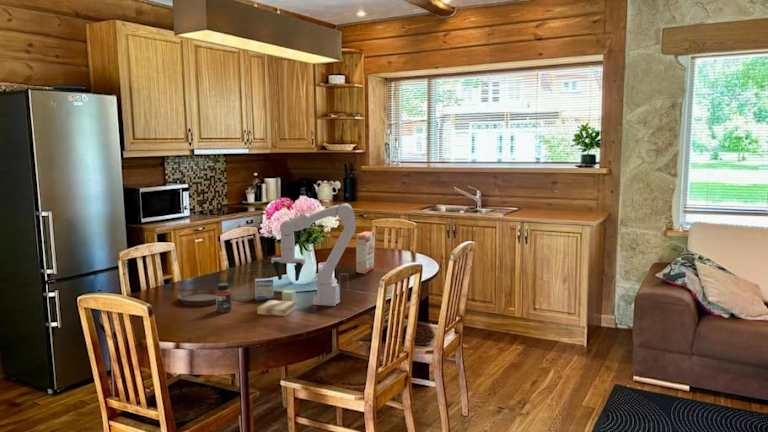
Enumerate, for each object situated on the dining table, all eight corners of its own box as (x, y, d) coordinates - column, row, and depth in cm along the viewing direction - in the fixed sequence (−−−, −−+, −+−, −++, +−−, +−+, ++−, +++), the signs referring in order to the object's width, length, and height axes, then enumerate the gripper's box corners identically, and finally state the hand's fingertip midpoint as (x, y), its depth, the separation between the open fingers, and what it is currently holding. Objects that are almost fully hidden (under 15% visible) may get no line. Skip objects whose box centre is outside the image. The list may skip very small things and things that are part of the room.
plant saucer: (237, 298, 258) (236, 291, 258) (200, 310, 241) (200, 302, 240) (204, 292, 269) (204, 285, 268) (167, 303, 251) (167, 295, 251)
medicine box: (255, 300, 255) (255, 280, 254) (255, 297, 259) (254, 278, 258) (273, 298, 257) (273, 279, 256) (273, 296, 261) (272, 277, 260)
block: (296, 302, 251) (295, 290, 251) (292, 305, 247) (291, 292, 246) (286, 302, 252) (285, 289, 251) (282, 304, 248) (281, 292, 247)
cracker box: (366, 274, 303) (366, 235, 301) (355, 274, 305) (355, 234, 302) (374, 269, 317) (374, 231, 314) (364, 268, 318) (364, 230, 316)
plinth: (296, 307, 244) (295, 301, 243) (285, 315, 232) (285, 309, 232) (269, 305, 246) (269, 299, 246) (257, 313, 235) (257, 307, 234)
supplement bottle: (225, 308, 243) (225, 281, 241) (234, 310, 239) (233, 283, 238) (213, 311, 238) (212, 284, 237) (222, 314, 234) (221, 286, 233)
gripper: (307, 247, 249) (307, 278, 251) (275, 246, 252) (276, 276, 254) (301, 250, 242) (302, 282, 244) (269, 249, 245) (269, 280, 247)
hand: (288, 279), depth 248 cm, fingers open, 7 cm apart
